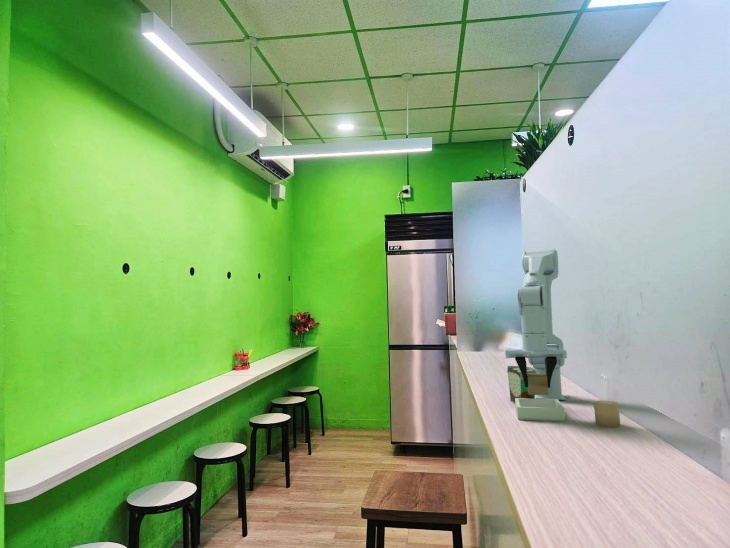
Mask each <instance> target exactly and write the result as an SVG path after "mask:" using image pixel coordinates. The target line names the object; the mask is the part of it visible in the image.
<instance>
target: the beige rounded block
mask: <svg viewBox="0 0 730 548" xmlns="http://www.w3.org/2000/svg"><path fill="white" fill-rule="evenodd" d="M593 408H594V420H595V421H594V423H595V426H597V427H600V428H606V429H618V428H621V417H620V414H621V413H620V404H619V403H618V402H617V401H614V400H613V401H611V400H595V401H594V402H593Z"/></svg>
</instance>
